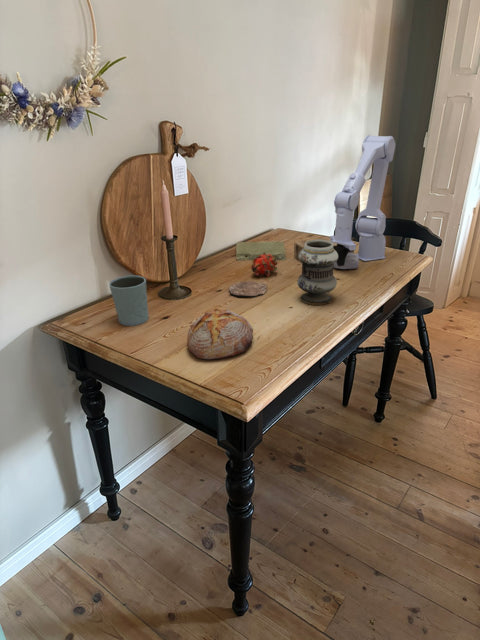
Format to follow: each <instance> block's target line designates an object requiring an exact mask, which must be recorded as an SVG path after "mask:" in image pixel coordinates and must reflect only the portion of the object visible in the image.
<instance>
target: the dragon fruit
mask: <svg viewBox="0 0 480 640" xmlns="http://www.w3.org/2000/svg"><path fill="white" fill-rule="evenodd" d="M251 262H252V264H251V265H250V269H251V271H252V273H254V277H261V276H263V275H266V277H269V276H271V274H272V272H274V271H276V270H278V267H277V265H278V262H277V260H276V258H275V257H274V256H273V254H269V255H267V254H266V253H263V255H258V256H257V257H256V258H255V259H254V260H251Z"/></svg>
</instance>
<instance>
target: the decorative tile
mask: <svg viewBox="0 0 480 640" xmlns="http://www.w3.org/2000/svg"><path fill="white" fill-rule="evenodd" d="M284 245H285V244H284V241H249V242H248V241H247V242H245V241H238V242H237V243H236V244H235V246H236V247H235V248H236V249H235V252H236V253H235V254H236V255H235V256H236V257H235V258H236V261H240V262H241V261H242V262H243V261H253V260H254V259H255V258H256V257H257V256H258V255H263V253H266V254H267V255H269V254H273V256H274V257H275V258H276V261H286V260H287V258H286V257H287V256H286V250H285V249H286V248H285V246H284Z"/></svg>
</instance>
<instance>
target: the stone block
mask: <svg viewBox="0 0 480 640" xmlns="http://www.w3.org/2000/svg"><path fill="white" fill-rule="evenodd" d="M354 254H355V252H354V253H353V252H351V253H348V254H347V256H346V259H345V263H344V266H338V265H337V261H336V262H335V263H334V266H333V269H339V270H347V269H349V270H353V269H354V270H355V269H358V268H359V263H360V259H359V258H358V256H355V255H354Z"/></svg>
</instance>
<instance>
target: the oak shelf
mask: <svg viewBox="0 0 480 640" xmlns="http://www.w3.org/2000/svg"><path fill="white" fill-rule="evenodd" d="M310 240H327V241H330V236H329V237H321V238H320V237H319V238H314V239H313V238H312V239H307V240H299V241H293V259H295V260H297V261H299V263H301V264H302V262H301V261H300V260H299V253H300V251H301V250H302V249H304V245H305V243H306V242H307V241H310ZM330 242H331V241H330ZM352 242H353V243H354V244H356V242H354V241H352ZM333 246H337V243H333ZM351 252H353V253H354V254H355V250H350V251H349V253H351Z"/></svg>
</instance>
